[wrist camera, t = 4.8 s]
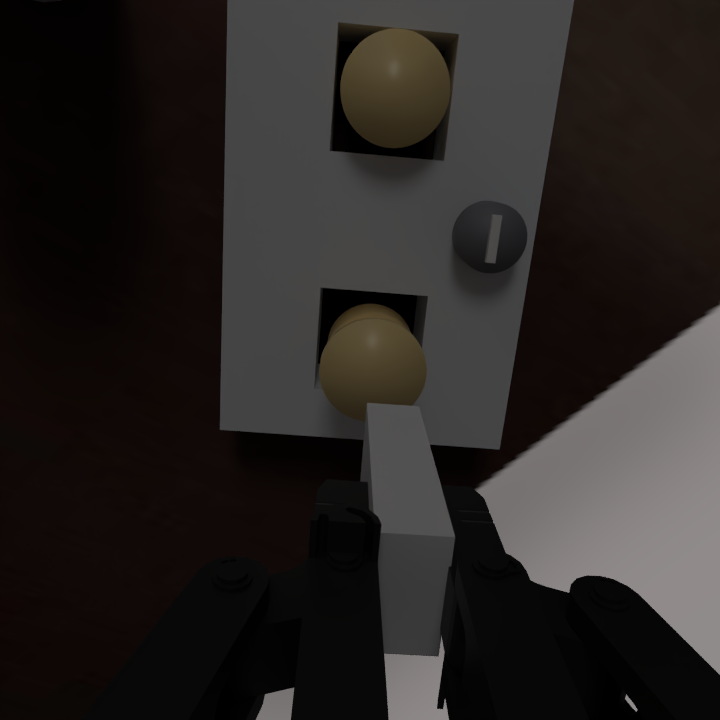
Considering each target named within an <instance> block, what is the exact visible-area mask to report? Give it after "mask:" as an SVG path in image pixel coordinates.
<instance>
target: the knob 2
mask: <svg viewBox="0 0 720 720" xmlns="http://www.w3.org/2000/svg"><path fill="white" fill-rule="evenodd" d="M426 375H427V366H426V360H425V356H424V353H423V351H422V348H421V346H420V344H419V342H418V341H417V340H416V338H415V337H414V336H413V335H412V334H411V332H410V329H409V327H408V325H407V323H406V322H405V321H404V319H403V318H402V317H401V316H400V315H399V314H398V313H397V312H395V311H394V310H392V309H390V308H388V307H386V306H383V305H379V304H362V305H358V306H355V307H352V308H350V309H349V310H347V311H345V312H344V313H343V314H342V315H340V316H339V317H338V319H337V320H336V321H335V322H334V324H333V326H332V328H331V330H330V333H329V336H328V342H327V344H326V346H325V348H324V350H323V352H322V356H321V360H320V367H319V376H320V382H321V386H322V389H323V391H324V394H325V395H326V397H327V399H328V400H329V401H330V403H331V404H332V405H333V406H334V407H335V408H336V409H337V410H338V411H340V412H341V413H343V414H344V415H346V416H348V417H350V418H353V419H355V420H359V421H365V420H366V408H367V403H377V404H392V405H407V406H412V405H413V404H414V403H415V402H416V401H417V399H418V398H419V396H420V394H421V392H422V390H423V388H424V385H425V381H426Z"/></svg>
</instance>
